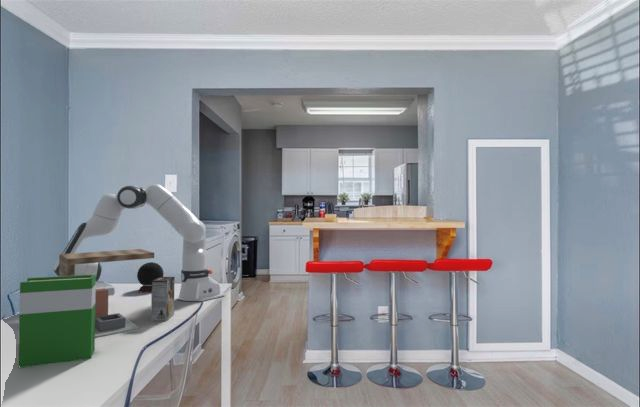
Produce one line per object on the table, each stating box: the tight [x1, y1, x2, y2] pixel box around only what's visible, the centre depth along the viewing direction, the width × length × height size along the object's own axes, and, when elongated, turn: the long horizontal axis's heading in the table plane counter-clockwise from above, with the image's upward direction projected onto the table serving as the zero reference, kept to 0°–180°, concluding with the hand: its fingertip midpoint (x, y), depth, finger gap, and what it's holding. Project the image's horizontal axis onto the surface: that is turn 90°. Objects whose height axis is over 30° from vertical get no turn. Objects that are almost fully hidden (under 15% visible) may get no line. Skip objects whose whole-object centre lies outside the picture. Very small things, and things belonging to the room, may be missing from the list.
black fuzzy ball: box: [136, 261, 164, 293], centre depth 208 cm, size 13×13×15 cm
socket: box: [95, 312, 140, 339], centre depth 143 cm, size 16×16×4 cm
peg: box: [95, 288, 109, 317], centre depth 153 cm, size 4×4×12 cm
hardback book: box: [18, 275, 96, 368], centre depth 115 cm, size 18×7×24 cm, turn 113°
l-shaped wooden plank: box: [58, 248, 155, 276], centre depth 142 cm, size 28×16×28 cm, turn 133°
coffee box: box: [150, 276, 175, 322], centre depth 157 cm, size 9×6×16 cm
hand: (92, 296), depth 162 cm, fingers open, 8 cm apart
